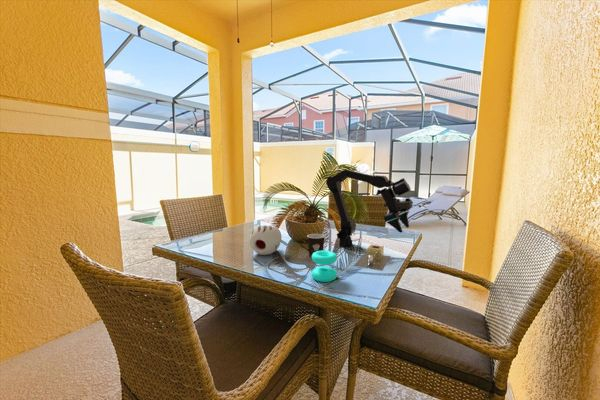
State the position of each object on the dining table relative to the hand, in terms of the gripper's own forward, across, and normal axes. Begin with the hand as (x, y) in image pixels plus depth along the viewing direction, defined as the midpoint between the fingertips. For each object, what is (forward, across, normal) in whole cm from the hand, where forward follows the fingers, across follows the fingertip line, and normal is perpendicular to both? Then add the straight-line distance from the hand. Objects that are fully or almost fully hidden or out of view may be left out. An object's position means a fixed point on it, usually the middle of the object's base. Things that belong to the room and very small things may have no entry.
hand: (404, 229), depth 131 cm
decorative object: (-16, -37, +55) cm, 68 cm away
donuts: (+2, -44, +19) cm, 48 cm away
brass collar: (+6, -13, +13) cm, 19 cm away
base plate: (+7, -18, +13) cm, 23 cm away
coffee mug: (-6, -26, +37) cm, 46 cm away
